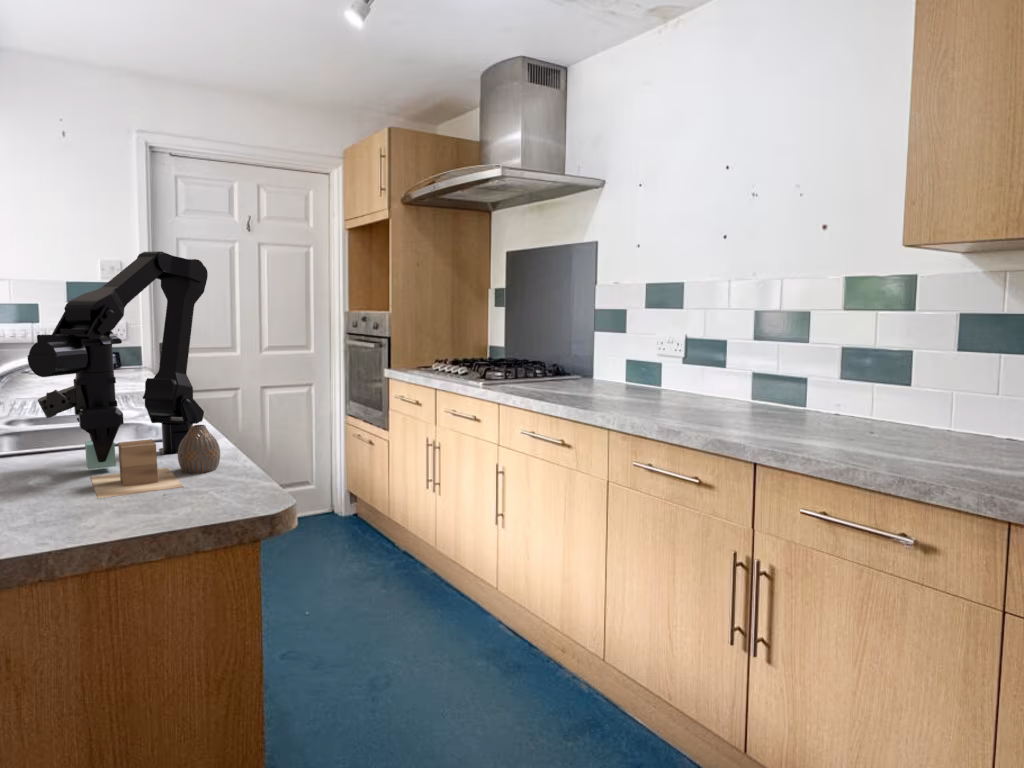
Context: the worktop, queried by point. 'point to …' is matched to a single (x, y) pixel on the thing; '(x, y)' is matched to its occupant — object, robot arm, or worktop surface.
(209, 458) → the vase
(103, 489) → the beech board
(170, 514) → the worktop surface
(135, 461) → the tower top
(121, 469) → the tower base
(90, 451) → the cube
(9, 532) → the worktop surface
